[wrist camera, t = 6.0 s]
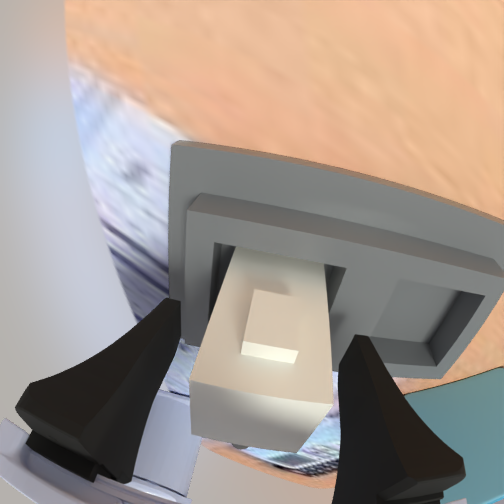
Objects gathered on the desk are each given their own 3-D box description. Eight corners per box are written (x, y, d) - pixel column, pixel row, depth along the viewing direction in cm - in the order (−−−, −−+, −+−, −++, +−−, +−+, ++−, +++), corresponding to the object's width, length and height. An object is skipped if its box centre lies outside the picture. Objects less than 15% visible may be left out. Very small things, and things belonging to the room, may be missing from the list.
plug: (225, 342, 18) (192, 460, 12) (240, 226, 14) (188, 367, 7) (288, 354, 18) (277, 475, 11) (325, 243, 14) (341, 393, 7)
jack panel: (176, 325, 20) (161, 358, 17) (179, 140, 13) (152, 155, 11) (432, 365, 19) (441, 396, 16) (515, 225, 12) (542, 252, 10)
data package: (388, 419, 23) (396, 533, 13) (392, 395, 21) (404, 529, 11) (495, 389, 20) (522, 489, 10) (509, 362, 18) (546, 472, 8)
